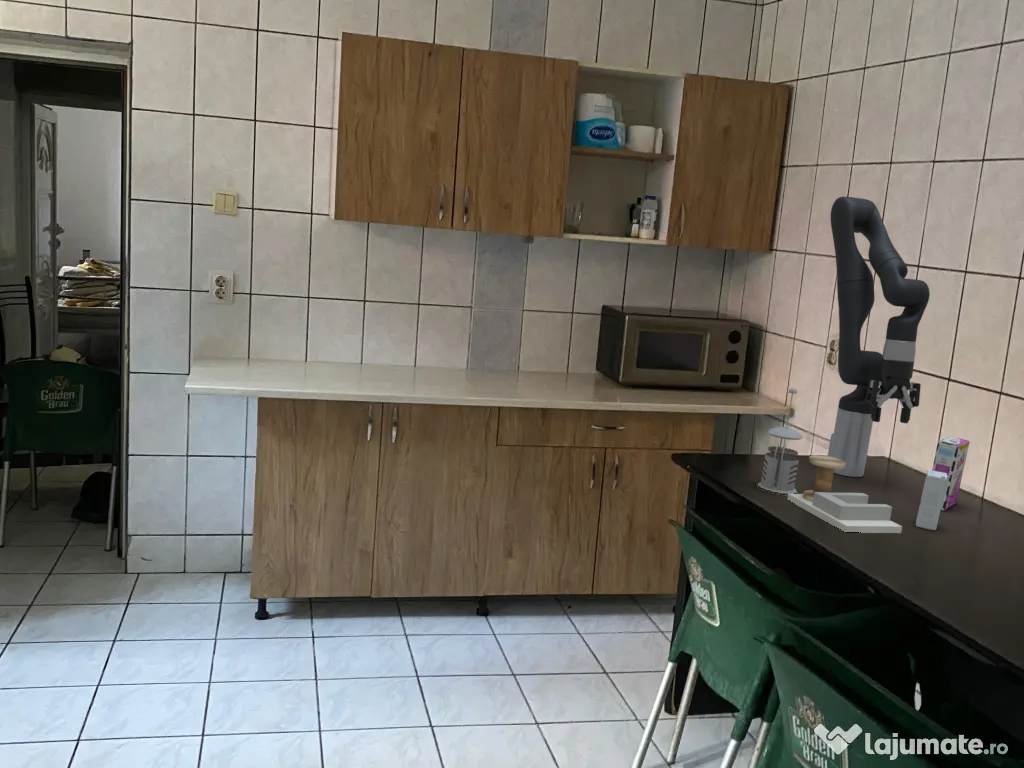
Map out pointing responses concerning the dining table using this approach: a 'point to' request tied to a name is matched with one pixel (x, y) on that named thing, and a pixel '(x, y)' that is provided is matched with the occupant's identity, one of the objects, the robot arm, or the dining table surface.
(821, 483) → the bobbin
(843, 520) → the notched board
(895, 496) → the dining table surface
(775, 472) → the french press
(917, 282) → the robot arm
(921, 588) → the dining table surface
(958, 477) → the candy bar box
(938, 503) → the skincare box
